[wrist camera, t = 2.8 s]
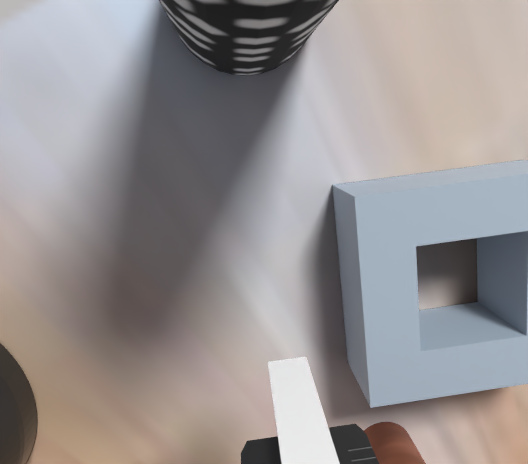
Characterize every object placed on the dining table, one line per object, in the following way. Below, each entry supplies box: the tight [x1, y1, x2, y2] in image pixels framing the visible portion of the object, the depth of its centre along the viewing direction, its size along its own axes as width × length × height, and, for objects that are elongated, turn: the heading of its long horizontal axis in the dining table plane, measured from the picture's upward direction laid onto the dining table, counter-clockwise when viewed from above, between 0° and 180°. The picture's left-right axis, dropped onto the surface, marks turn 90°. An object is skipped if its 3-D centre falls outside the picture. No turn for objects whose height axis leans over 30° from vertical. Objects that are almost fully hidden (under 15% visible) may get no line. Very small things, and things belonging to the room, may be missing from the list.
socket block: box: [332, 160, 528, 408], centre depth 26 cm, size 12×12×5 cm
